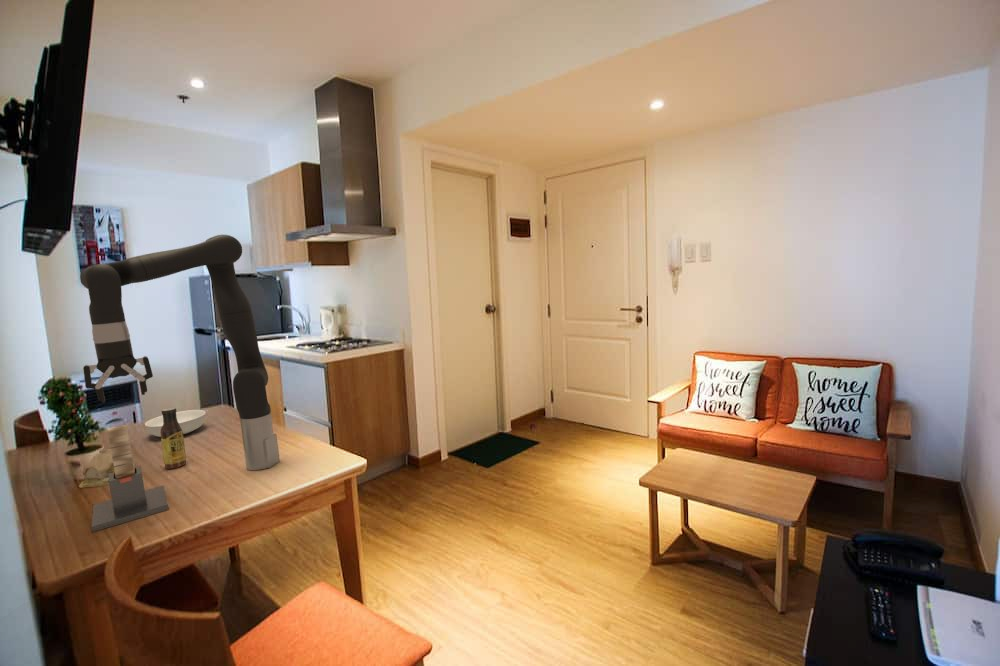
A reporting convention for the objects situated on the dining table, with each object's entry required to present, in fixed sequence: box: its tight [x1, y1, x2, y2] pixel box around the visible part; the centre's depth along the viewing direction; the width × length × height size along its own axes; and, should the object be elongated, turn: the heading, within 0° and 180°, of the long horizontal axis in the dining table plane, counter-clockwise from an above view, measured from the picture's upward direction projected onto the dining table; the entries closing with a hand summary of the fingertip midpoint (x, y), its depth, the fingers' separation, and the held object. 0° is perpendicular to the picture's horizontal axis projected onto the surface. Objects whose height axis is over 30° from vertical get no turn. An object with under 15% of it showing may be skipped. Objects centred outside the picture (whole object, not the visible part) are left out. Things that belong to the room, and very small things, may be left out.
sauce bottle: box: [160, 407, 187, 470], centre depth 159 cm, size 7×6×20 cm
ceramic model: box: [78, 448, 136, 489], centre depth 152 cm, size 14×11×10 cm
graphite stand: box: [91, 465, 170, 533], centre depth 130 cm, size 16×16×10 cm
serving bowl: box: [144, 409, 207, 438], centre depth 195 cm, size 21×21×7 cm
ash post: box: [107, 424, 135, 478], centre depth 128 cm, size 4×4×16 cm
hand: (123, 398), depth 128 cm, fingers open, 8 cm apart
